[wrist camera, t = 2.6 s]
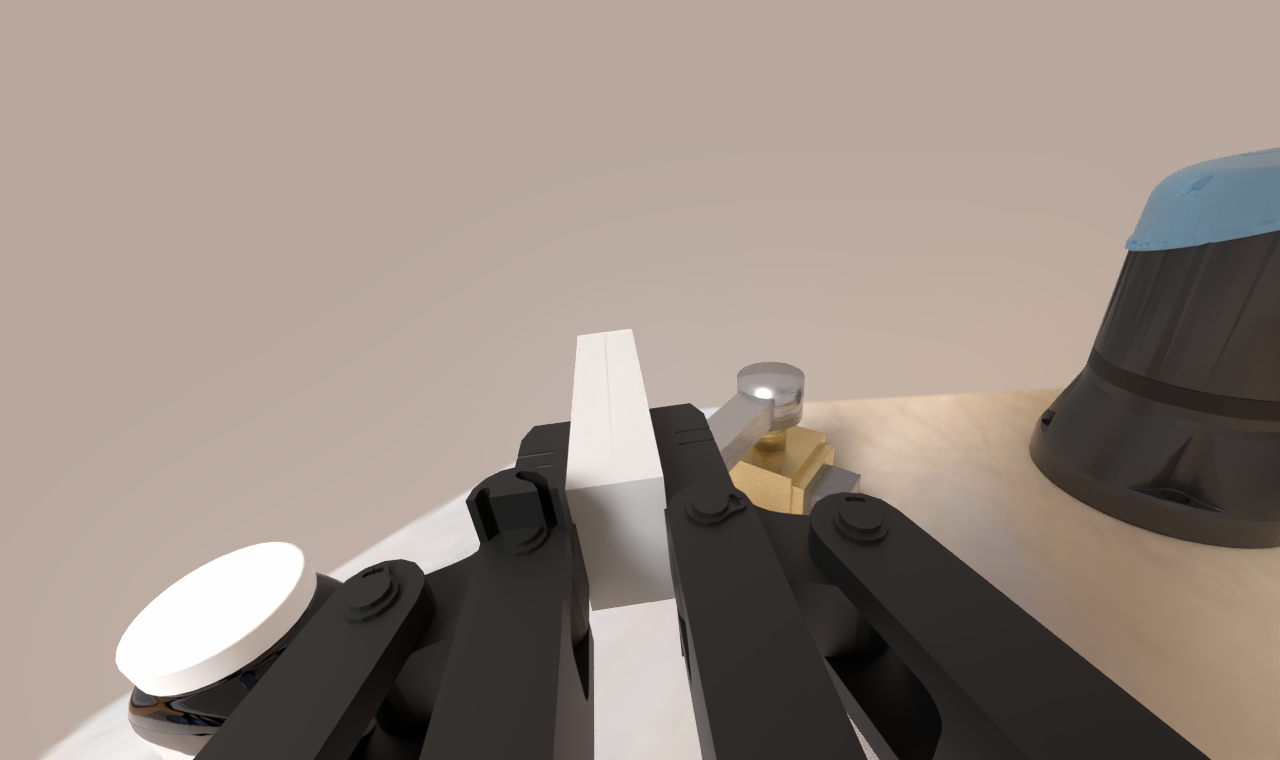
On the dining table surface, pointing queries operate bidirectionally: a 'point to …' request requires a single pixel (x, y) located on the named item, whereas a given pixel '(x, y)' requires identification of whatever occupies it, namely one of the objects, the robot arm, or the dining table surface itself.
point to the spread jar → (215, 642)
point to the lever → (758, 408)
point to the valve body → (791, 471)
